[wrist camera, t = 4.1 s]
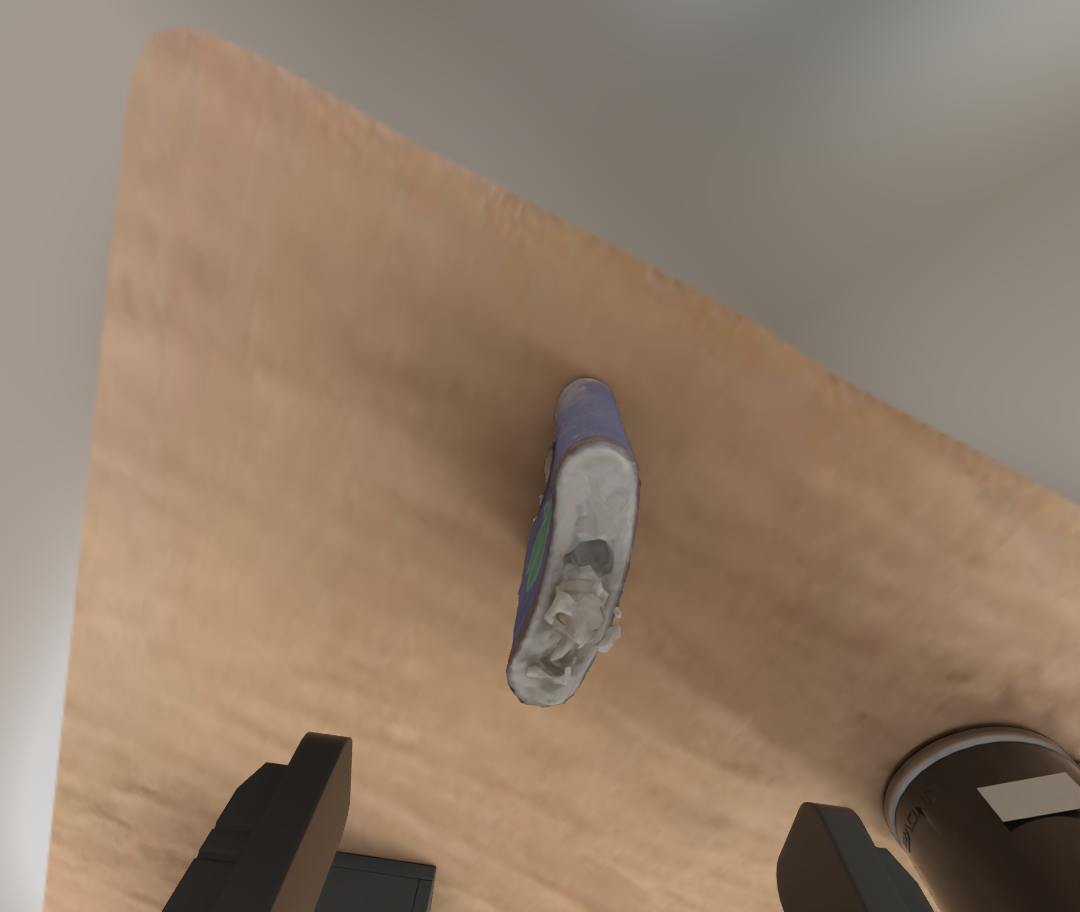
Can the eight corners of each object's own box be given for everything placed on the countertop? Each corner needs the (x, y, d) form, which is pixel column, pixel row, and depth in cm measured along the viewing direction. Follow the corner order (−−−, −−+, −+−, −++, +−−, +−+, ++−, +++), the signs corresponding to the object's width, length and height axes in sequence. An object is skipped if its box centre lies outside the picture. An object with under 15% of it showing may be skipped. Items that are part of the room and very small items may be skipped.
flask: (563, 369, 23) (565, 455, 12) (632, 384, 23) (690, 482, 13) (519, 561, 26) (491, 756, 16) (580, 574, 26) (592, 775, 16)
